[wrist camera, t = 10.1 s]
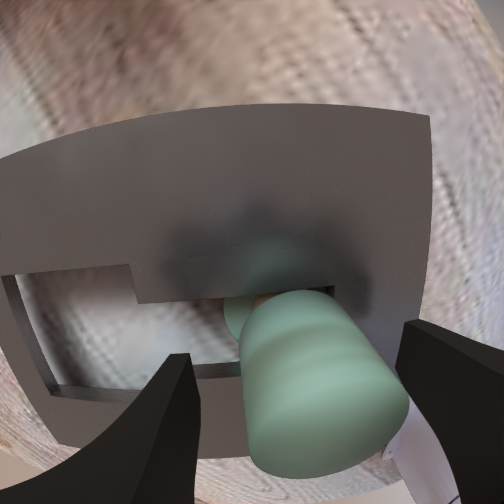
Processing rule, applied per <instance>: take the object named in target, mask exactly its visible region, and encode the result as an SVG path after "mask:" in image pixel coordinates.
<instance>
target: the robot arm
mask: <svg viewBox="0 0 504 504" xmlns="http://www.w3.org/2000/svg"><path fill="white" fill-rule="evenodd" d="M394 368H395V370H396V372H397V374H398V376H399V378H400V380H401V382H402V384H403V386H404V388H405V390H406V392H407V393H408V396H409V400H410V407H409V412H408V415H407V418H406V420H405V422H404V424H403V425H402V427H401V428H400V430H399V431H398V433H397V434H396V435H395V436H394V437H393V438H392V439H391V440H390V441H389V442H388V444H387V446H386V448H385V451H384V453H383V455H382V460H383V461H386V460H389V459H391V458H393V460H394V462H395V464H396V466H397V468H398V470H399V472H400V474H401V476H402V478H403V480H404V481H405V483H406V485H407V487H408V489H409V491H410V493H411V495H412V497H413V499H414V501H415V503H416V504H504V351H503V350H500V349H497V348H494V347H491V346H488V345H485V344H482V343H480V342H477V341H474V340H472V339H469V338H467V337H464V336H462V335H459V334H457V333H455V332H452V331H450V330H447V329H445V328H443V327H440V326H438V325H435V324H432V323H430V322H427V321H424V320H421V319H415V320H411V321H407V322H404V327H403V332H402V337H401V342H400V346H399V351H398V355H397V359H396V363H395V367H394ZM200 430H201V398H200V394H199V390H198V386H197V382H196V378H195V374H194V370H193V366H192V362H191V357H190V353H181V354H170V355H169V356H168V357H167V359H166V360H165V361H164V363H163V364H162V365H161V367H160V368H159V369H158V371H157V372H156V373H155V375H154V376H153V377H152V379H151V380H150V381H149V382H148V384H147V385H146V386H145V387H144V389H143V390H142V391H141V392H140V394H139V395H138V396H137V397H136V398H135V400H134V401H133V402H132V403H131V404H130V405H129V406H128V407H127V408H126V409H125V411H124V412H123V413H122V414H121V415H120V416H119V417H118V418H117V419H116V420H115V421H114V422H113V423H112V424H111V425H110V426H109V427H108V428H107V429H106V430H105V431H104V432H102V433H101V434H100V435H99V436H98V437H97V438H95V439H94V440H93V441H92V442H91V443H89V444H88V445H86V446H85V447H84V448H82V449H81V450H79V451H78V452H77V453H75V454H74V455H72V456H71V457H70V458H68V459H67V460H65V461H63V462H62V463H60V464H58V465H57V466H55V467H53V468H52V469H50V470H48V471H46V472H44V473H42V474H40V475H38V476H36V477H34V478H32V479H29V480H27V481H24V482H22V483H19V484H16V485H14V486H11V487H8V488H5V489H2V490H0V504H194V486H195V474H196V465H197V456H198V447H199V439H200Z"/></svg>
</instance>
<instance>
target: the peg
mask: <svg viewBox="0 0 504 504" xmlns="http://www.w3.org/2000/svg"><path fill="white" fill-rule="evenodd" d="M223 312H224V319H225V322H226V325H227V327H228V329H229V331H230V333H231V334H232V335H233V337H234V338H235V339H236V340H237V341H238V342H239V356H240V367H241V377H242V387H243V397H244V406H245V416H246V425H247V434H248V443H249V451H250V456H251V459H252V461H253V463H254V464H255V465H256V466H257V467H258V468H259V469H261V470H262V471H264V472H266V473H268V474H270V475H273V476H277V477H281V478H288V479H308V478H316V477H322V476H326V475H330V474H334V473H337V472H340V471H343V470H345V469H348V468H350V467H352V466H354V465H357V464H359V463H360V462H362V461H364V460H366V459H367V458H369V457H371V456H372V455H374V454H375V453H376V452H378V451H379V450H380V449H382V448H383V447H384V446H385V445H386V444H387V443H388V442H389V441H390V440H391V439H392V438H393V437H394V436H395V435H396V434H397V433H398V431H399V430H400V428H401V427H402V425H403V424H404V422H405V420H406V418H407V415H408V412H409V407H410V400H409V396H408V394H407V392H406V390H405V389H404V387H403V386H402V385H401V383H400V382H399V380H398V379H397V378H396V376H395V375H394V374H393V372H392V371H391V370H390V368H389V367H388V366H387V364H386V363H385V362H384V360H383V359H382V358H381V356H380V355H379V354H378V352H377V351H376V350H375V348H374V347H373V346H372V344H371V343H370V342H369V340H368V339H367V338H366V337H365V335H364V334H363V333H362V331H361V330H360V329H359V327H358V326H357V325H356V324H355V322H354V321H353V320H352V318H351V317H350V316H349V315H348V313H347V312H346V311H345V309H344V308H343V307H342V306H341V305H340V304H339V302H337V301H336V300H335V299H334V298H332V297H330V296H329V295H326V286H323V287H316V288H307V289H299V290H291V291H282V292H273V293H264V294H254V295H244V296H234V297H223Z"/></svg>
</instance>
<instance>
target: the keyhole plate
mask: <svg viewBox="0 0 504 504" xmlns="http://www.w3.org/2000/svg"><path fill="white" fill-rule="evenodd" d="M431 215H432V144H431V129H430V117H429V116H427V115H422V114H416V113H409V112H403V111H396V110H388V109H380V108H370V107H360V106H347V105H330V104H251V105H234V106H221V107H210V108H201V109H192V110H184V111H177V112H170V113H163V114H157V115H151V116H146V117H140V118H135V119H130V120H125V121H121V122H116V123H112V124H107V125H103V126H99V127H95V128H91V129H87V130H83V131H80V132H76V133H73V134H69V135H66V136H63V137H59V138H56V139H53V140H50V141H47V142H44V143H41V144H38V145H35V146H32V147H29V148H27V149H24V150H21V151H19V152H16V153H14V154H11V155H9V156H6V157H4V158H1V159H0V347H1V349H2V351H3V353H4V355H5V357H6V359H7V361H8V363H9V365H10V367H11V369H12V371H13V373H14V375H15V377H16V378H17V380H18V382H19V384H20V386H21V387H22V389H23V391H24V393H25V394H26V396H27V398H28V399H29V401H30V403H31V404H32V406H33V407H34V409H35V410H36V412H37V413H38V415H39V417H40V418H41V419H42V421H43V422H44V424H45V425H46V427H47V428H48V430H49V431H50V432H51V434H52V435H53V436H54V438H55V439H56V440H57V442H58V443H59V444H62V445H66V446H71V447H76V448H81V449H82V448H84V447H85V446H86V445H88V444H89V443H91V442H92V441H93V440H94V439H95V438H97V437H98V436H99V435H100V434H101V433H102V432H104V431H105V430H106V429H107V428H108V427H109V426H110V425H111V424H112V423H113V422H114V421H115V420H116V419H117V418H118V417H119V416H120V415H121V414H122V413H123V412H124V411H125V409H126V408H127V407H128V406H129V405H130V404H131V403H132V402H133V401H134V400H135V398H136V397H137V396H138V395H139V394H140V392H141V391H142V390H121V389H103V388H90V387H79V386H69V385H61V384H58V383H57V381H56V379H55V377H54V375H53V373H52V371H51V369H50V367H49V365H48V363H47V361H46V359H45V356H44V354H43V352H42V350H41V347H40V345H39V343H38V340H37V338H36V336H35V333H34V331H33V328H32V326H31V323H30V320H29V318H28V315H27V312H26V309H25V306H24V303H23V300H22V297H21V294H20V291H19V288H18V285H17V281H16V278H15V275H16V274H26V273H37V272H48V271H58V270H69V269H80V268H90V267H101V266H112V265H122V264H129V265H130V270H131V275H132V280H133V284H134V289H135V293H136V297H137V301H138V304H145V303H161V302H175V301H188V300H200V299H212V298H223V297H234V296H244V295H254V294H264V293H273V292H282V291H291V290H299V289H307V288H316V287H323V286H326V295H329V296H330V297H332V298H334V299H335V300H336V301H337V302H339V304H340V305H341V306H342V307H343V308H344V309H345V311H346V312H347V313H348V315H349V316H350V317H351V318H352V320H353V321H354V322H355V324H356V325H357V326H358V327H359V329H360V330H361V331H362V333H363V334H364V335H365V337H366V338H367V339H368V340H369V342H370V343H371V344H372V346H373V347H374V348H375V350H376V351H377V352H378V354H379V355H380V356H381V358H382V359H383V360H384V362H385V363H386V364H387V366H388V367H389V368H390V370H391V371H392V372H393V374H394V375H395V376H396V378H397V379H398V380H399V382H400V383H401V385H402V382H401V380H400V378H399V376H398V374H397V372H396V370H395V368H394V367H395V363H396V359H397V355H398V351H399V346H400V342H401V337H402V332H403V327H404V322H407V321H411V320H415V319H418V318H419V313H420V308H421V302H422V296H423V290H424V284H425V277H426V270H427V262H428V253H429V243H430V231H431ZM192 366H193V370H194V374H195V378H196V382H197V386H198V390H199V394H200V398H201V430H200V439H199V447H198V456H197V459H211V458H231V457H244V456H250V451H249V443H248V434H247V425H246V416H245V406H244V397H243V387H242V377H241V367H240V361H239V362H228V363H215V364H200V365H192Z"/></svg>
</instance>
